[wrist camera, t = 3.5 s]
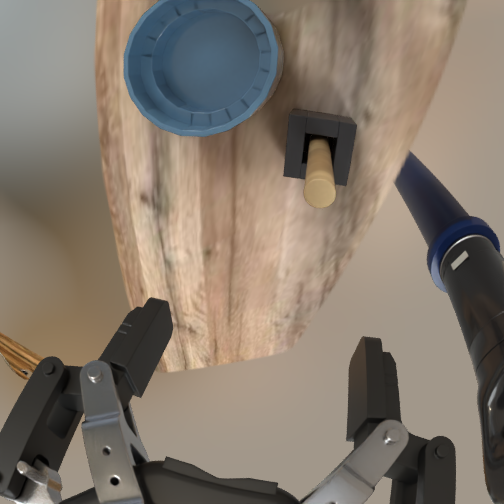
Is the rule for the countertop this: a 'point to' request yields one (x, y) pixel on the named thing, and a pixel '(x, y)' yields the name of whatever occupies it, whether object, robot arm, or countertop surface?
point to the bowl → (202, 64)
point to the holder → (325, 126)
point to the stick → (319, 173)
